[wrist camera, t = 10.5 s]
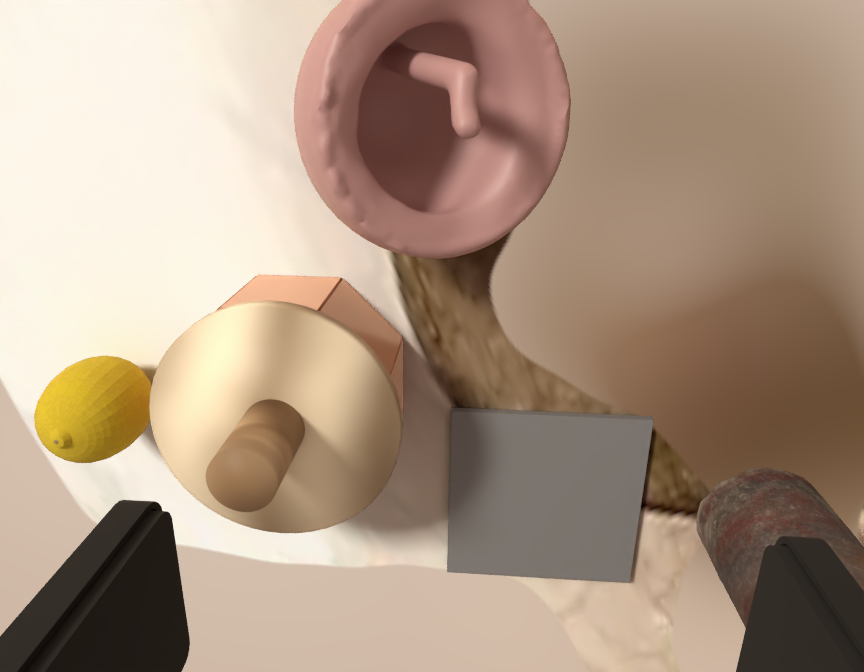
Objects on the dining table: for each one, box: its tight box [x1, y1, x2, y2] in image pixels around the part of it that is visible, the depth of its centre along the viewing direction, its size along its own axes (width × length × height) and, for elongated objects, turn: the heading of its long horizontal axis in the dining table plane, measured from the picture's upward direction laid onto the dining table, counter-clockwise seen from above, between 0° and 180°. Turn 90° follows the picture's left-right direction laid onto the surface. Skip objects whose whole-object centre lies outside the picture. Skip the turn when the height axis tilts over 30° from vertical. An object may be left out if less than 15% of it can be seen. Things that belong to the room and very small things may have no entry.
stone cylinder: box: [696, 468, 864, 627], centre depth 33 cm, size 8×7×20 cm
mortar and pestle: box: [294, 0, 571, 259], centre depth 30 cm, size 12×12×11 cm
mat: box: [447, 407, 653, 583], centre depth 42 cm, size 12×12×1 cm
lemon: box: [34, 356, 152, 463], centre depth 38 cm, size 6×6×8 cm
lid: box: [149, 300, 402, 533], centre depth 32 cm, size 13×13×6 cm
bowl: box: [216, 275, 403, 414], centre depth 38 cm, size 12×12×6 cm
